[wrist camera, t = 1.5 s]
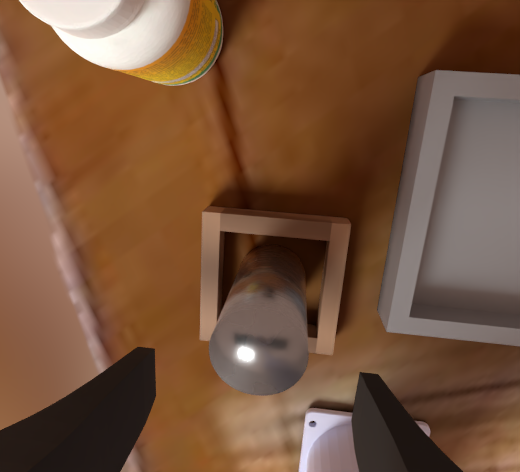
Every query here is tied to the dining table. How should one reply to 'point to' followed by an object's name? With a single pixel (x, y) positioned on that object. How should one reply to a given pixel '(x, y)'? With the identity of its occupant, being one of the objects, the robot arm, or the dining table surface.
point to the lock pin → (263, 324)
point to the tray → (458, 213)
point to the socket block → (284, 226)
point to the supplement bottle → (139, 34)
